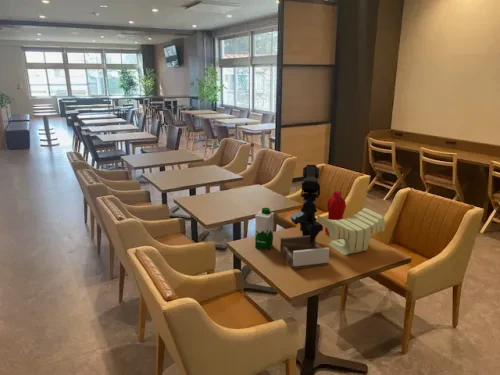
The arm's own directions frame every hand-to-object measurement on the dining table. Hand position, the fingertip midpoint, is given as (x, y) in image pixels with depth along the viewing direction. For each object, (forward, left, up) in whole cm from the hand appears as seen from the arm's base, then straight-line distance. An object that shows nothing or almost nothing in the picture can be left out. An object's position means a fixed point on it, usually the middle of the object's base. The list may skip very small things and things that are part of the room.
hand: (307, 238), depth 178 cm
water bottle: (-26, +28, -12) cm, 40 cm away
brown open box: (-2, 0, -12) cm, 12 cm away
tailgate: (+6, 0, -10) cm, 11 cm away
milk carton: (-20, -15, -12) cm, 28 cm away
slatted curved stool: (-8, +27, -12) cm, 30 cm away
